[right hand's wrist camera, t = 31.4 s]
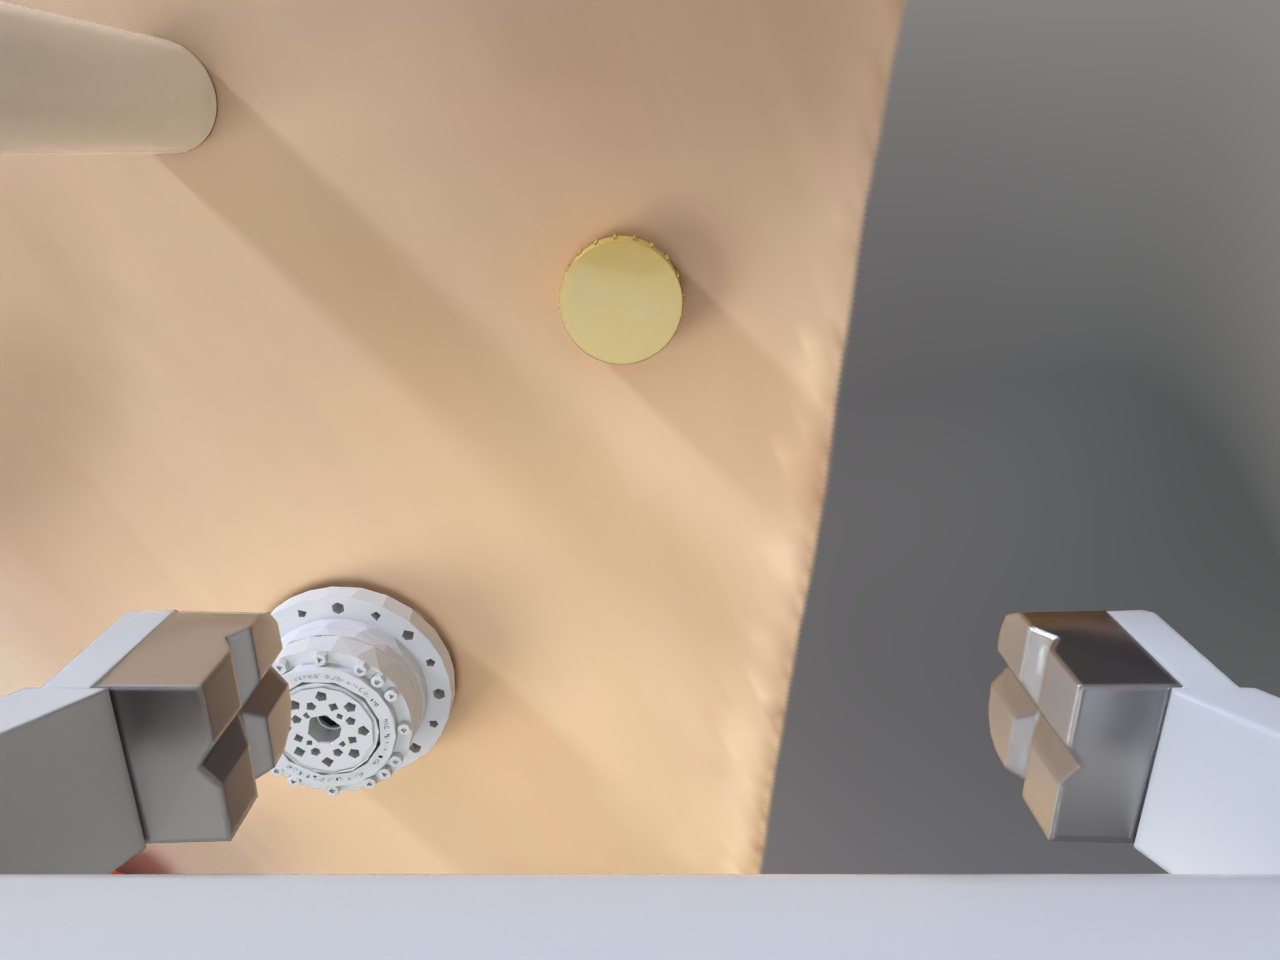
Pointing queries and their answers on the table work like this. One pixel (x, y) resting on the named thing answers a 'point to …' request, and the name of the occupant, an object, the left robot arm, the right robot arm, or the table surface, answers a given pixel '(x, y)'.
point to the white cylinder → (96, 89)
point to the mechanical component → (358, 687)
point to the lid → (621, 300)
